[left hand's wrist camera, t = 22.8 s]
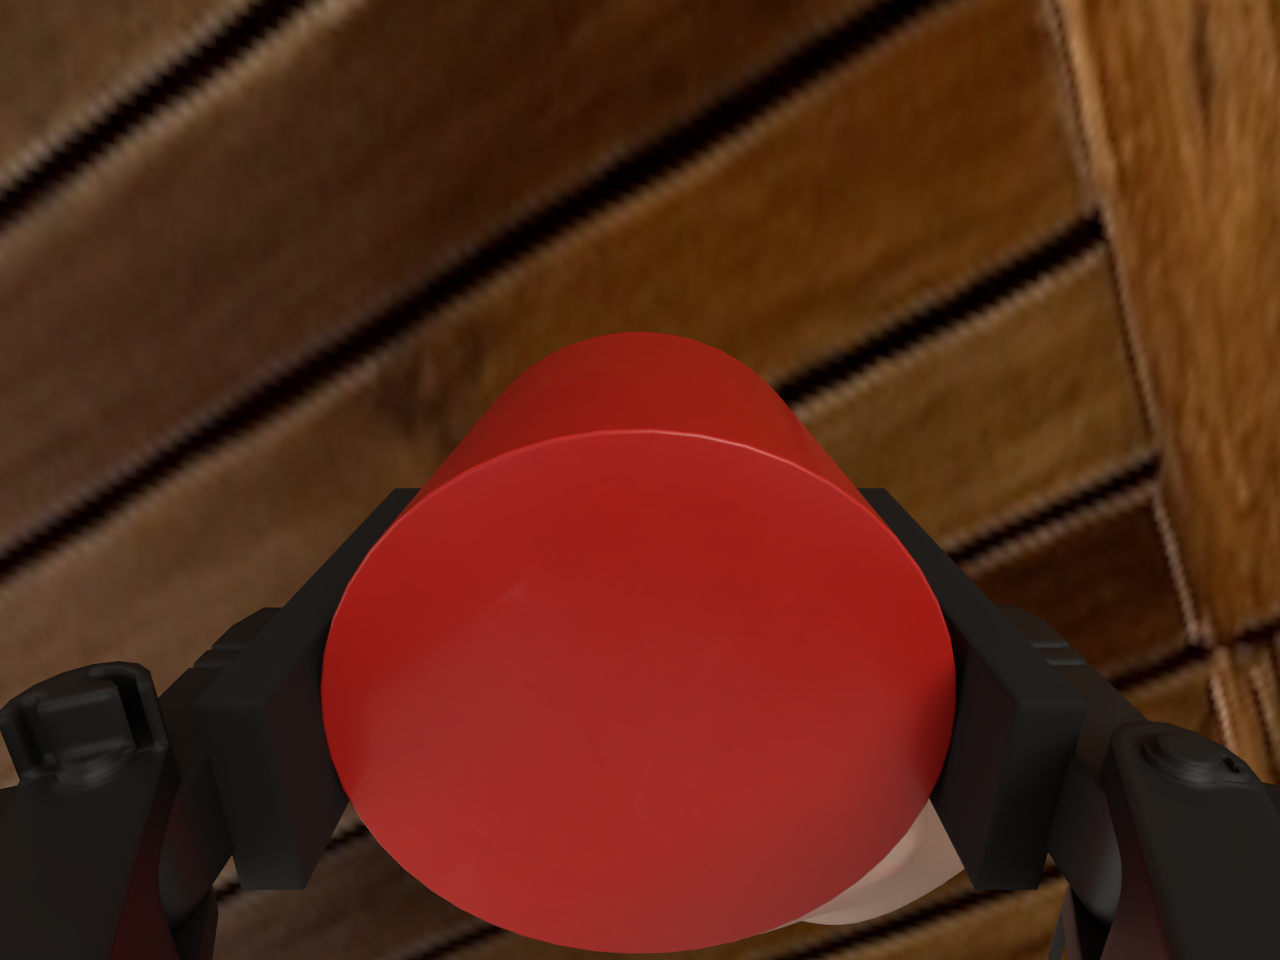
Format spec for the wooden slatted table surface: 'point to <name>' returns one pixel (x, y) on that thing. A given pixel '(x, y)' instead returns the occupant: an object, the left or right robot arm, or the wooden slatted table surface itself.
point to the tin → (638, 662)
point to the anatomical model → (895, 876)
